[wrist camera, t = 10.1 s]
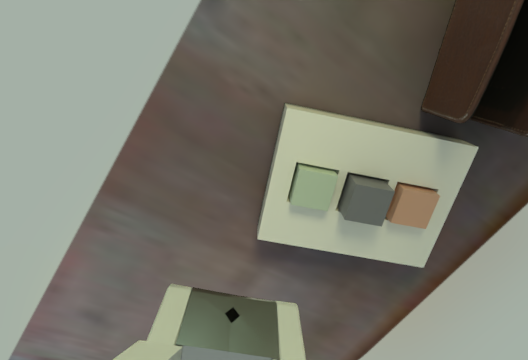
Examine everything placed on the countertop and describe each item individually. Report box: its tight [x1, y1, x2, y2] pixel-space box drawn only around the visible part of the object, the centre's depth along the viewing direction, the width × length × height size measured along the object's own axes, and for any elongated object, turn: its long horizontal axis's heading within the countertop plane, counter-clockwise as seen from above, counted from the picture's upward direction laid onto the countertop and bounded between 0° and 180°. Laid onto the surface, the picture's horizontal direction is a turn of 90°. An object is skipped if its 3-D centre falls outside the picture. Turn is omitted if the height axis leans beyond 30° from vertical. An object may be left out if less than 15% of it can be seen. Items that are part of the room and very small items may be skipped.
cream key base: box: [257, 103, 479, 268], centre depth 36 cm, size 15×20×4 cm
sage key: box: [289, 162, 338, 211], centre depth 35 cm, size 4×4×3 cm
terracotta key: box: [386, 182, 440, 229], centre depth 36 cm, size 4×4×3 cm
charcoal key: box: [338, 174, 395, 227], centre depth 34 cm, size 4×4×3 cm
